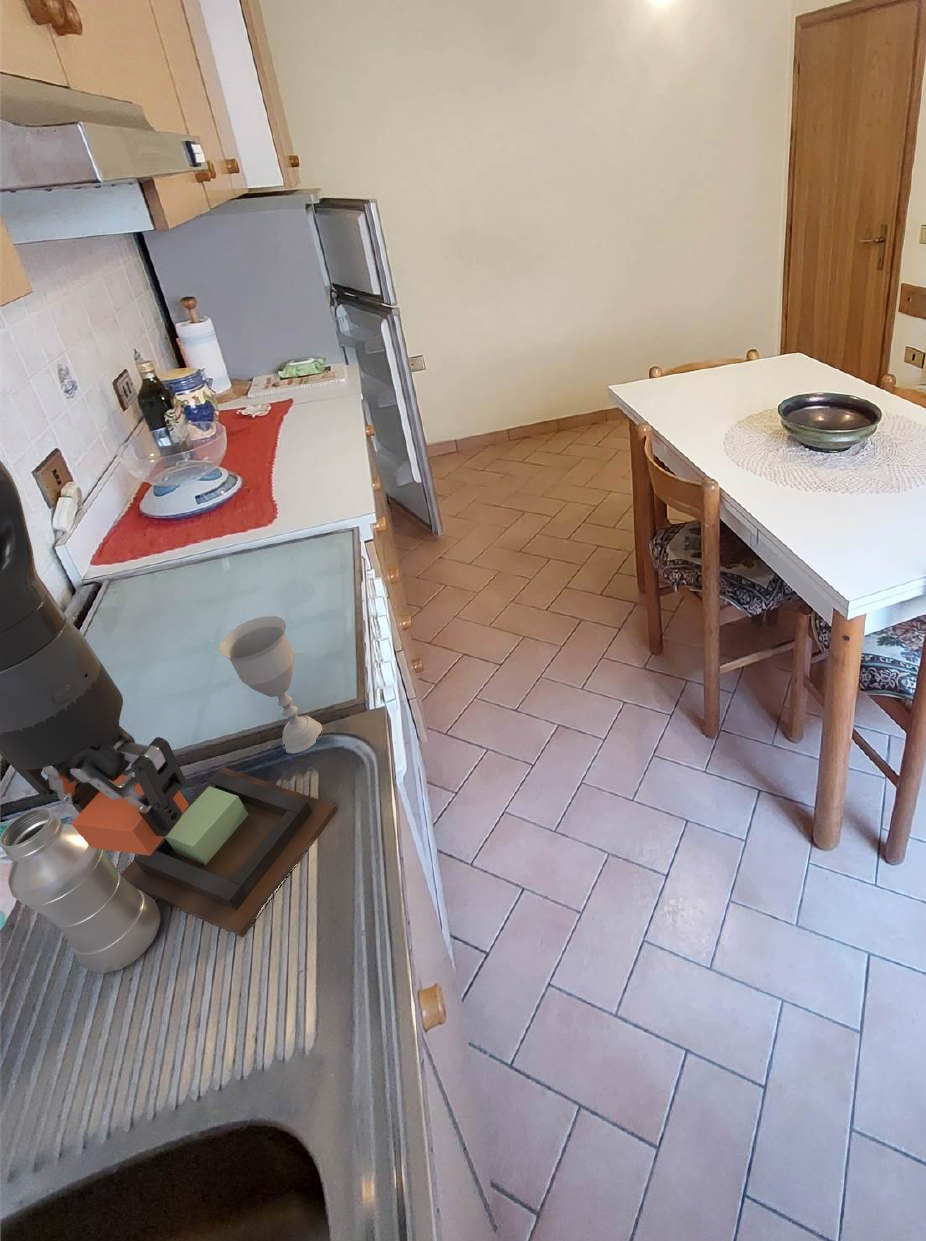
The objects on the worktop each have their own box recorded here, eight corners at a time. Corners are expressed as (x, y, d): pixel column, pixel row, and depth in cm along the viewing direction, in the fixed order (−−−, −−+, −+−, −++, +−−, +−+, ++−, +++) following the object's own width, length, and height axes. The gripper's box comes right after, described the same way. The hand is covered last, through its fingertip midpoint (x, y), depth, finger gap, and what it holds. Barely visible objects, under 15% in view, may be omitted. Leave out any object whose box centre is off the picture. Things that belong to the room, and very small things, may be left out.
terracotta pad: (90, 848, 57) (70, 823, 55) (132, 798, 61) (114, 773, 59) (150, 856, 56) (131, 831, 54) (189, 805, 60) (173, 780, 58)
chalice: (332, 707, 92) (288, 609, 83) (329, 747, 86) (282, 646, 77) (275, 725, 90) (224, 626, 81) (269, 767, 84) (213, 666, 76)
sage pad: (205, 865, 73) (192, 846, 71) (176, 853, 74) (162, 835, 73) (249, 814, 78) (237, 796, 76) (220, 804, 79) (209, 785, 78)
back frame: (120, 883, 73) (107, 868, 72) (225, 771, 84) (215, 756, 83) (242, 938, 67) (231, 922, 66) (338, 809, 78) (330, 794, 77)
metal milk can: (169, 950, 67) (70, 832, 57) (89, 999, 64) (-30, 883, 54) (166, 895, 71) (75, 777, 62) (91, 938, 68) (-18, 821, 59)
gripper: (159, 655, 52) (239, 790, 60) (8, 644, 54) (104, 775, 62) (75, 738, 45) (177, 877, 53) (-92, 721, 48) (30, 856, 56)
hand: (137, 821), depth 58 cm, fingers closed on terracotta pad, 6 cm apart
